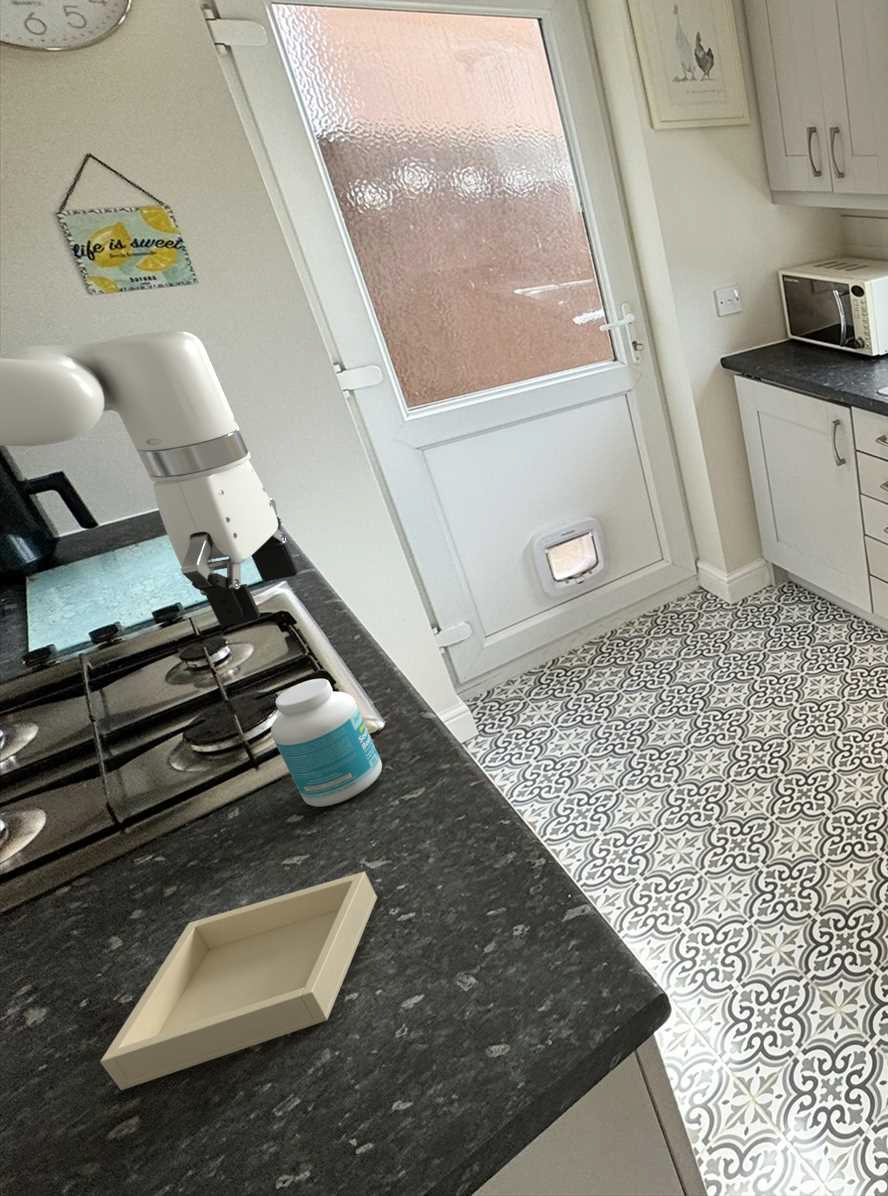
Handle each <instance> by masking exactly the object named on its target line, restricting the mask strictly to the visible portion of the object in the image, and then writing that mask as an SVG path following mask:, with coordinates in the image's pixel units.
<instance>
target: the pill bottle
mask: <svg viewBox="0 0 888 1196" xmlns="http://www.w3.org/2000/svg"><path fill="white" fill-rule="evenodd" d="M333 690H334V689H333V687H332V685H331V683H330V681H329V680H328V679H325V678H314V679H309V680H306V681H302V682H300V683H297V684H294V685H293V686H291V687H289V688H287V689H286V690H284V691H283V692H282V693H280V694H279V695H278V696H277V697H276V698H275V705H276V708H277V710H278V712H279V713H280V714H278V715H277V716H276V718H275V719H274V721H273V723H272V725H271V727H270V734H271V737H272V739H273V741H274V743H275V746H276V748H277V749H278V751H279V754H280V756H281V758H282V759H283V762H284V764H285V766H286V768H287V770H288V772H289V774H290V776H291V778H292V780H293V782H294V784H295V786H296V789H297V790H298V792H299V794H300V796H301V798H302V800H303V802H305V804H307V805H310V806H312V807H328V806H333V805H336V804H340V803H342V802H345V801H348V800H349V799H352V798H354V797H355V796H357V795H358V794H360V793H362V792H363V791H365V790H366V789H367V788H369V787H370V786H371V785H372V784H373V783H375V781H376V780H377V779H378V778H379V776H380V775H381V773H382V769H383V763H382V760H381V758H380V755H379V753H378V751H377V749H376V746H375V744H374V741H373V740H372V737H371V735H370V733H369V730H368V727H367V725H366V723H365V721H364V719H363V715H362V713H361V712H360V708H359V706H358V705H357V702H356V700H355V698H354V697H353V696H352V695H350V694H349V693H346V692H342V691H333Z"/></svg>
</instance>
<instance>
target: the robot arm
mask: <svg viewBox="0 0 888 1196" xmlns="http://www.w3.org/2000/svg"><path fill="white" fill-rule="evenodd" d="M109 411H113V412H116V413H117V414H118V415H119V417H120V419H121V421H122V423H123V426H124V427H125V429H126V431H127V433H128V435H129V438H130V439H131V442H132V444H133V446H134V448H135V449H136V452H137V454H138V456H139V459H141V462H142V464H143V467H144V468H145V470H146V472H147V474H148V476H149V479H150V480H151V481H152V482H154V483H153V484H152V485H153V491H154V496H155V501H156V505H157V508H158V511H159V514H160V519H161V521H162V523H163V526H164V529H165V532H166V534H167V537H168V539H169V542H170V544H171V547H172V549H173V551H174V553H175V556H176V559H177V561H178V562H179V563H178V564H180V567H181V569H180V570H181V573H182V575H183V576H184V577H186V579H187V580H189V581H190V582H191V585H192V586H193V588H195V589H196V590H199V594H201V596H203V597H204V596H205V597H206V599H207V601H208V603H209V605H210V608H211V610H212V612H213V613H214V616H215V617H216V620H217V622H218V624H219V625H220V626H223V627H227V626H231V625H236V624H241V623H246V622H251V621H256V620H258V619H259V617H260V616H261V612H260V610H259V608H258V606H257V603H256V602H255V599H254V597H253V595H252V593H251V589H249V586H248V584H247V583H243V584H241V581H242V580H241V577H242V576H241V564H243V563H244V562H245V561H247V560H248V559H249V558H250V557H251V558H252V561H253V562H254V565H255V568H256V569H257V573H258V574H259V576H260V578H261V580H262V581H264V582H271V581H276V580H282V579H287V578H292V577H295V576H296V575H297V574H298V573H299V570H298V567H297V565H296V561H295V560H294V558H293V556H292V554H291V551H290V549H289V546H288V544H287V543H286V541H287V537H286V536H287V535H286V534H285V533H284V532H283V531H282V530H281V524H282V520H281V518H280V517H279V516H278V511H277V510H278V509H277V505H276V500H275V499H274V498H269V495H268V493H267V491H266V489H265V487H264V485H263V483H262V481H261V479H260V477H259V476H258V474H257V472H256V471H255V469H254V467H253V465H252V464H251V461H249V460H251V458H252V455H251V453H250V451H249V448H248V446H247V444H246V442H245V439H244V436H243V435H242V432H241V430H240V428H239V425H238V423H237V420H236V419H235V416H234V413H233V411H232V409H231V407H230V404H229V402H228V400H227V397H226V395H225V393H224V391H223V389H222V386H221V384H220V382H219V379H218V376H217V374H216V372H215V370H214V368H213V364H212V362H211V361H210V358H209V355H208V353H207V350H206V349H205V346H204V344H203V342H202V341H201V340H200V339H199V338H198V337H197V336H195V335H193V334H192V333H189V332H186V331H179V330H167V331H155V332H153V331H152V332H146V333H137V334H132V335H126V336H121V337H118V338H113V339H110V340H106V341H97V342H85V343H84V342H83V343H63V344H43V345H42V344H41V345H30V346H21V347H16V348H12V349H8V350H5V351H2V352H0V447H2V446H3V447H38V446H45V445H46V446H48V445H54V444H60V443H63V442H67V441H70V440H73V439H76V438H78V437H80V436H82V435H84V434H86V433H87V432H88V431H90V430H91V429H93V427H95V425H96V424H97V423H98V422H99V420H100V419H101V417H102V415H103V414H104V413H105V412H109ZM222 558H223V559H222ZM224 558H225V559H224ZM217 559H219V560H217ZM213 560H215V561H213ZM224 569H226V576H224V575H222V574H220V573H218V572H215V571H219V570H224Z"/></svg>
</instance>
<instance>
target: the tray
mask: <svg viewBox="0 0 888 1196" xmlns="http://www.w3.org/2000/svg"><path fill="white" fill-rule="evenodd" d="M377 899H378V896H377V894H376V891H375V890H374V888H373V886H372V883H371V882H370V879H369V877H368V875H367V873H366V871H362V872H358V873H355V874H350V875H348V876H344V877H341V878H338V879H334V880H331V881H327V882H323V883H321V884H320V883H319V884H316V885H313V886H309V887H307V888H303V889H300V890H296V891H294V892H290V893H286V894H283V895H279V896H276V897H272V898H269V899H266V900H262V901H258V902H256V903H252V904H249V905H245V906H241V907H238V908H235V909H232V910H231V909H230V910H228V911H224V912H222V913H217V914H214V915H211V916H208V917H203V918H201V919H197V920H194V921H191V922H188V924H187V925H186V927H185V928H184V929H183V931H182V933H181V934H180V936H179V938H178V939H177V941H176V942H175V944H174V946H173V947H172V949H171V950H170V952H169V953H168V955H167V956H166V958H165V960H164V961H163V962H162V964H161V966H160V968H158V970H157V972H156V974H155V975H154V977H153V978H152V980H151V981H150V982H149V985H148V986H147V987H146V989H145V991H143V994H142V995H141V997H140V999H139V1001H137V1003H136V1005H135V1006H134V1008H133V1009H132V1011H131V1012H130V1014H129V1015H128V1017H127V1019H126V1020H125V1022H124V1024H123V1025H122V1026H121V1028H120V1030H119V1031H118V1033H117V1035H116V1036H115V1038H114V1039H113V1040H112V1042H111V1044H110V1045H109V1047H108V1049H107V1050H106V1052H104V1055H103V1056H102V1058H101V1059H100V1064H101V1065H102V1067H103V1068H104V1069H105V1071H106V1072H107V1073H108V1074H109V1076H110V1077H111V1079H112V1080H113V1082H114V1083H115V1084H116V1085H117V1087H118V1088H119V1089H120V1091H123V1090H126V1089H129V1088H132V1087H135V1086H138V1085H141V1084H144V1083H147V1082H150V1081H153V1080H156V1079H159V1078H162V1077H165V1076H167V1075H170V1074H174V1073H177V1072H179V1071H182V1070H185V1069H189V1068H191V1067H195V1066H198V1065H200V1064H203V1063H206V1062H209V1061H212V1060H214V1059H218V1058H220V1057H224V1056H226V1055H229V1054H232V1053H235V1052H238V1051H241V1050H244V1049H247V1048H250V1047H253V1046H256V1045H259V1044H261V1043H265V1042H267V1041H268V1042H269V1041H271V1040H273V1039H277V1038H280V1037H283V1036H286V1035H288V1034H291V1033H295V1032H297V1031H300V1030H303V1029H306V1028H308V1027H311V1026H315V1025H318V1024H321V1023H324V1022H326V1021H328V1020H329V1017H330V1014H331V1012H332V1009H333V1008H334V1005H335V1002H336V999H337V997H338V995H339V992H340V989H341V987H342V985H343V982H344V980H345V978H346V975H347V973H348V970H349V968H350V965H351V963H352V960H353V958H354V956H355V953H356V950H357V948H358V946H359V942H360V941H361V939H362V936H363V933H364V931H365V929H366V926H367V923H368V921H369V919H370V916H371V914H372V911H373V909H374V906H375V904H376V901H377Z"/></svg>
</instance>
